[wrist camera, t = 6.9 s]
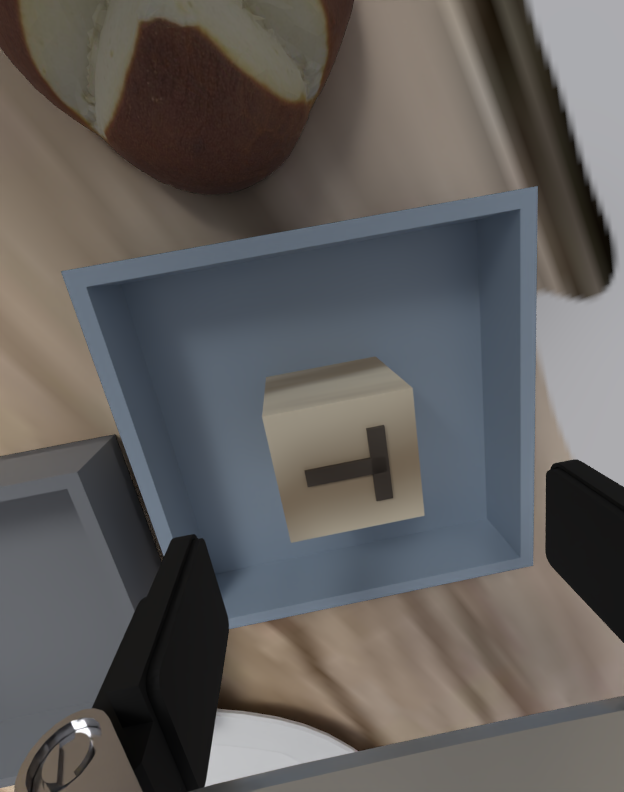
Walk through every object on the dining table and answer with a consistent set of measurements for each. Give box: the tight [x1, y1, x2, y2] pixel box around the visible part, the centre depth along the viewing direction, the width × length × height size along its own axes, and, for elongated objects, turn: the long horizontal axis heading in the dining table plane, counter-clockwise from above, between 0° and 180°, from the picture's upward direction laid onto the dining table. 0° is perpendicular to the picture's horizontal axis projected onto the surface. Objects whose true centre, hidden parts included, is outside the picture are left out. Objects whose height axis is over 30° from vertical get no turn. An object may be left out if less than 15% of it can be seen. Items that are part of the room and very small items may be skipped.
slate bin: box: [61, 186, 538, 629], centre depth 17 cm, size 16×16×4 cm
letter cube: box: [262, 356, 425, 543], centre depth 16 cm, size 5×5×5 cm
